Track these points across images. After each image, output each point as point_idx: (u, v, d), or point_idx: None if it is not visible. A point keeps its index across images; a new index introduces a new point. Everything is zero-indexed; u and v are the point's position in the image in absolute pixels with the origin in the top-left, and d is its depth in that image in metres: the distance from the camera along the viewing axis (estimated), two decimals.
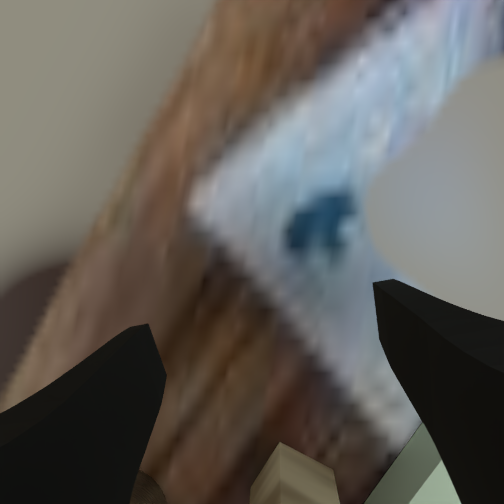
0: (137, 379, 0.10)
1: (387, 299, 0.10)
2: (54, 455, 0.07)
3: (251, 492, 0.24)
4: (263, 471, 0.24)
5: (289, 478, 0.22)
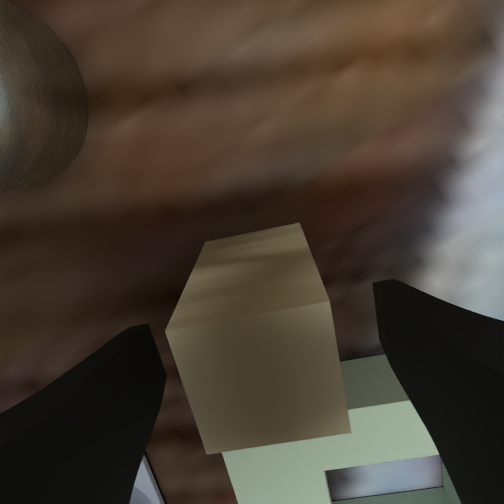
0: (137, 379, 0.10)
1: (387, 299, 0.10)
2: (54, 455, 0.07)
3: (207, 245, 0.15)
4: (247, 236, 0.15)
5: None
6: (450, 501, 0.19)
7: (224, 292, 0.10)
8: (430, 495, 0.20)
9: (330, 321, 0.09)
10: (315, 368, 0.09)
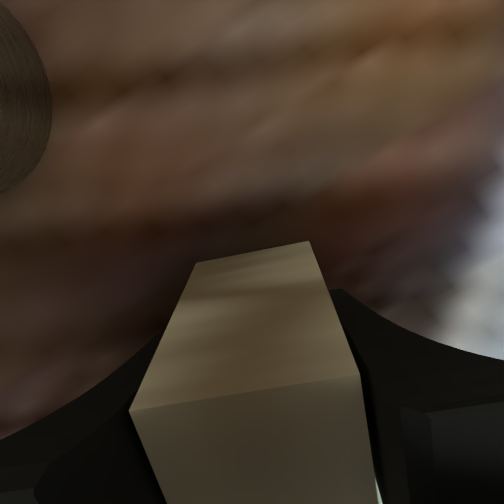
0: None
1: None
2: (132, 444, 0.07)
3: (198, 268, 0.12)
4: (246, 257, 0.12)
5: None
6: None
7: (215, 344, 0.08)
8: None
9: (360, 400, 0.06)
10: (337, 459, 0.07)
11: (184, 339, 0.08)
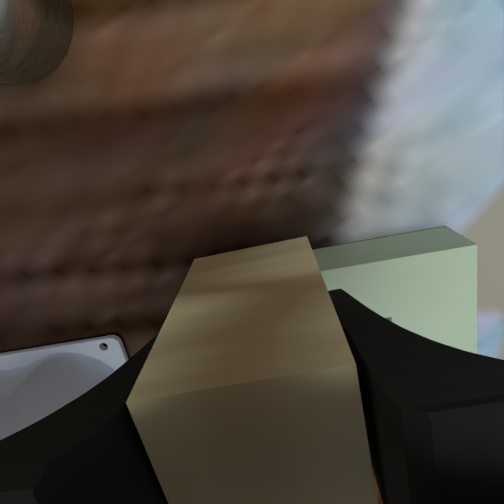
0: None
1: None
2: (132, 443, 0.07)
3: (196, 264, 0.12)
4: (244, 252, 0.12)
5: None
6: None
7: (212, 337, 0.08)
8: None
9: (356, 390, 0.06)
10: (334, 449, 0.07)
11: (182, 333, 0.08)
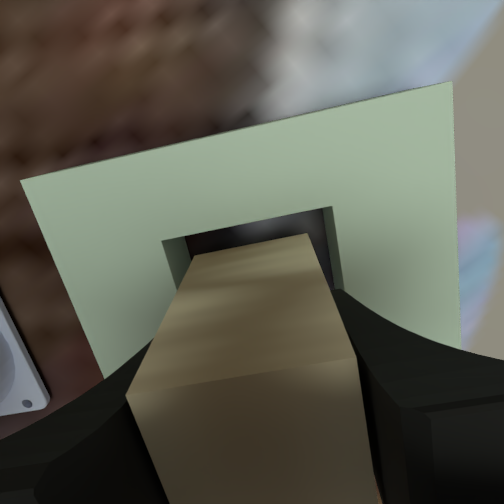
0: None
1: None
2: (132, 444, 0.07)
3: (196, 260, 0.12)
4: (244, 249, 0.12)
5: None
6: None
7: (212, 331, 0.08)
8: None
9: (356, 383, 0.06)
10: (334, 444, 0.07)
11: (182, 327, 0.08)
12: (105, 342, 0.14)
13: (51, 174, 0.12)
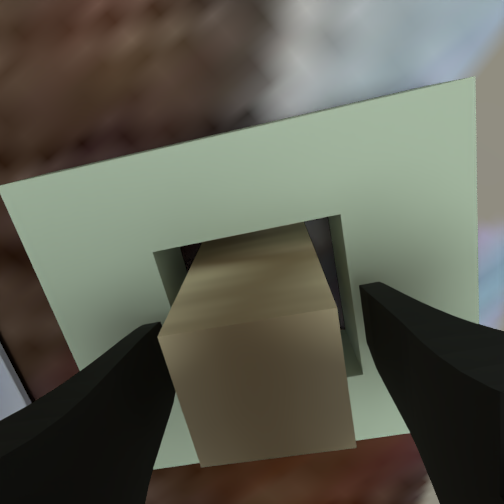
0: (151, 377, 0.10)
1: (371, 302, 0.10)
2: (74, 452, 0.07)
3: (206, 242, 0.14)
4: (248, 233, 0.14)
5: None
6: (349, 339, 0.15)
7: (223, 293, 0.10)
8: None
9: (337, 329, 0.08)
10: (320, 378, 0.09)
11: (198, 291, 0.10)
12: None
13: (31, 179, 0.11)
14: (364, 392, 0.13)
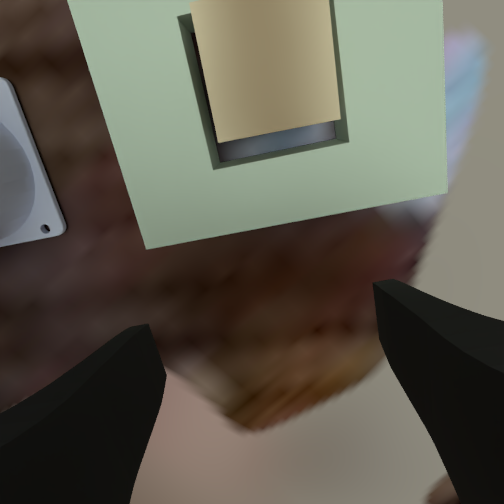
0: (137, 379, 0.10)
1: (387, 299, 0.10)
2: (54, 455, 0.07)
3: None
4: None
5: None
6: (339, 138, 0.18)
7: None
8: (321, 142, 0.18)
9: None
10: (312, 45, 0.11)
11: None
12: (123, 129, 0.16)
13: None
14: (350, 161, 0.16)
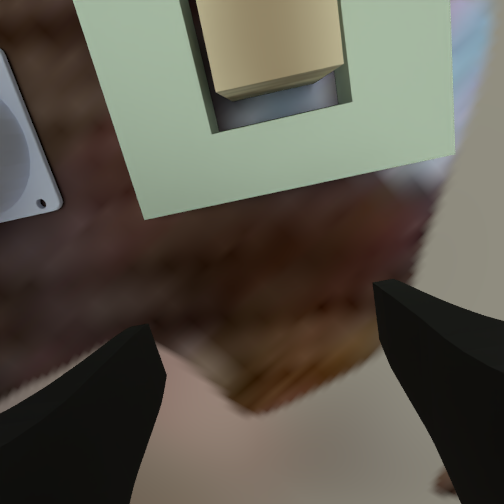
0: (137, 379, 0.10)
1: (387, 299, 0.10)
2: (54, 455, 0.07)
3: None
4: None
5: None
6: (341, 102, 0.17)
7: None
8: (322, 108, 0.18)
9: None
10: None
11: None
12: (118, 91, 0.15)
13: None
14: (353, 122, 0.15)
